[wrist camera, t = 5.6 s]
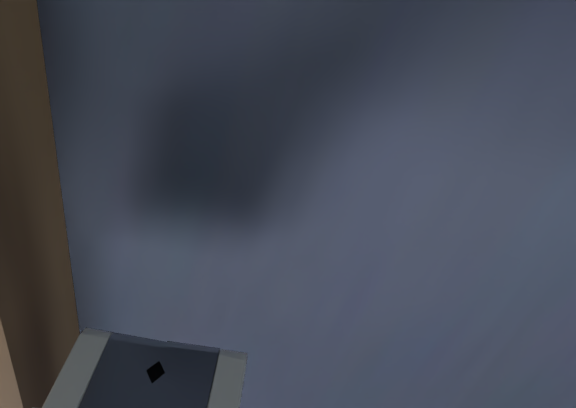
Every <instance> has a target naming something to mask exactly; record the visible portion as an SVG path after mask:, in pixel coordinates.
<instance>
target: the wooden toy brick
mask: <svg viewBox="0 0 576 408" xmlns="http://www.w3.org/2000/svg"><path fill="white" fill-rule="evenodd" d="M79 335H80V332H79V324H78V317H77V309H76V301H75V293H74V286H73V278H72V270H71V262H70V255H69V247H68V239H67V232H66V224H65V216H64V208H63V201H62V193H61V185H60V178H59V170H58V162H57V154H56V147H55V139H54V131H53V124H52V116H51V108H50V100H49V93H48V85H47V77H46V70H45V62H44V54H43V46H42V39H41V31H40V23H39V16H38V8H37V0H0V408H32V407H35V408H42V406H43V404H44V402H45V400H46V399H47V397H48V395H49V393H50V391H51V389H52V387H53V385H54V383H55V381H56V379H57V377H58V375H59V373H60V371H61V369H62V367H63V365H64V363H65V361H66V360H67V358H68V356H69V354H70V352H71V350H72V348H73V346H74V344H75V342H76V340H77V338H78V336H79Z"/></svg>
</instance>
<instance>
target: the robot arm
mask: <svg viewBox="0 0 576 408" xmlns="http://www.w3.org/2000/svg"><path fill="white" fill-rule="evenodd" d="M246 364H247V353H244V352H237V351H230V350H223V349H221V350H220V348H215V347H207V346H200V345H193V344H186V343H179V342H172V341H167V342H165V341H159V340H153V339H148V338H142V337H137V336H131V335H126V334H120V333H115V332H109V331H103V330H97V329H91V328H85V329H84V330H83V331H82V333H81V334H80V335H79V336H78V338H77V340H76V342H75V344H74V346H73V348H72V350H71V352H70V354H69V356H68V358H67V360H66V361H65V363H64V365H63V367H62V369H61V371H60V373H59V375H58V377H57V379H56V381H55V383H54V385H53V387H52V389H51V391H50V393H49V395H48V397H47V399H46V400H45V402H44V404H43V406H42V408H240V402H241V396H242V389H243V383H244V376H245V370H246ZM32 408H35V407H32Z"/></svg>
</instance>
